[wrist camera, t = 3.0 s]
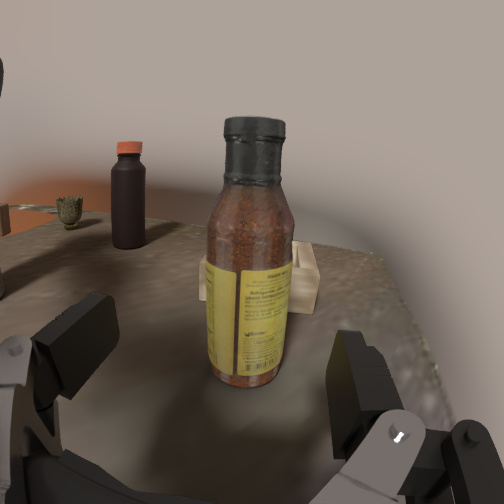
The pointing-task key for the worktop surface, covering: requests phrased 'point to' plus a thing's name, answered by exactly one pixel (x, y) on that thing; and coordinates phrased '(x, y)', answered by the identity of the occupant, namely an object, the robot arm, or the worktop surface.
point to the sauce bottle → (249, 256)
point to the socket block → (301, 279)
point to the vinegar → (128, 197)
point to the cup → (70, 211)
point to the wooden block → (4, 220)
